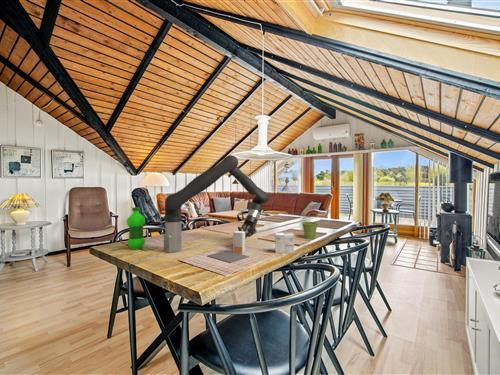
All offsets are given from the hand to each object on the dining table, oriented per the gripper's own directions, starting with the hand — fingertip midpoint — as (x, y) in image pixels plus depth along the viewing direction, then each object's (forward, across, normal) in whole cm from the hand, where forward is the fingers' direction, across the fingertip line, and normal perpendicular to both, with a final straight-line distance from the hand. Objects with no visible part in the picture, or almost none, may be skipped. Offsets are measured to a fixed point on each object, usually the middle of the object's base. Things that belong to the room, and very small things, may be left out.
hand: (241, 241), depth 147 cm
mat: (+13, -1, -5) cm, 14 cm away
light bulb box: (-4, +22, +12) cm, 26 cm away
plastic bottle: (+23, -60, -14) cm, 66 cm away
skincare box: (+6, 0, +2) cm, 6 cm away
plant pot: (-36, +23, +44) cm, 61 cm away
